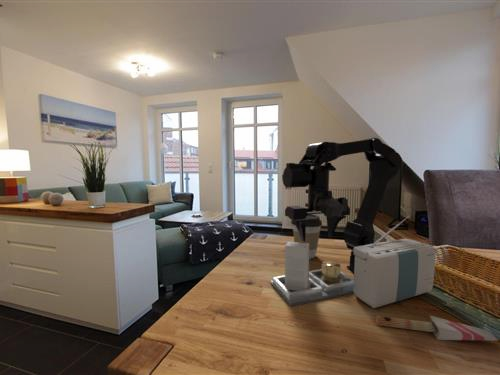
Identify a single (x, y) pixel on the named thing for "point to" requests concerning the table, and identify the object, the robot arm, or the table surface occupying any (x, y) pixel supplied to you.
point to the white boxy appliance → (393, 270)
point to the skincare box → (296, 266)
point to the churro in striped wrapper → (439, 328)
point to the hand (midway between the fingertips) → (317, 239)
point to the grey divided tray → (317, 285)
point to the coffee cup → (309, 233)
